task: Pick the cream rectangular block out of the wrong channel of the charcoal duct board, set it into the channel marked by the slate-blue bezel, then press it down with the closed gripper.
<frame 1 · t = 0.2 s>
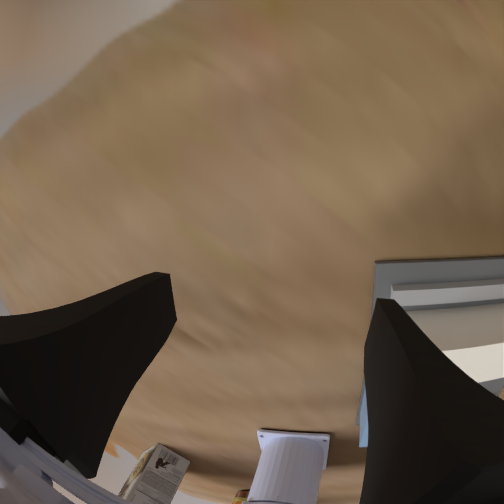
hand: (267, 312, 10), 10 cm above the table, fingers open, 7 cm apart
coffee box: (166, 455, 40), on the table
cream rectangular block: (465, 326, 18), resting on duct board
sauce bottle: (253, 494, 40), on the table
duct board: (453, 355, 20), on the table
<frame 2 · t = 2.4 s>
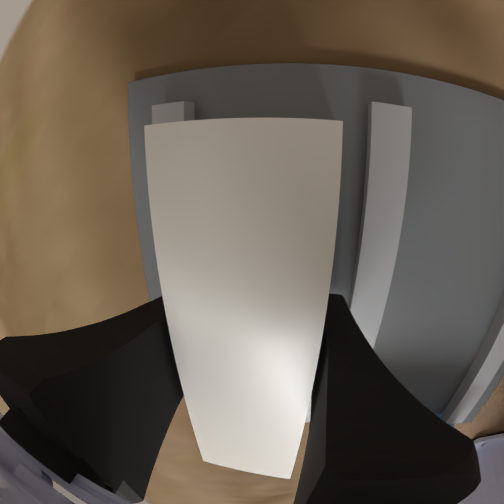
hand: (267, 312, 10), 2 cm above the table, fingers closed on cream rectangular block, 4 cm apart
cream rectangular block: (274, 292, 11), resting on duct board, touching gripper
duct board: (364, 296, 11), on the table
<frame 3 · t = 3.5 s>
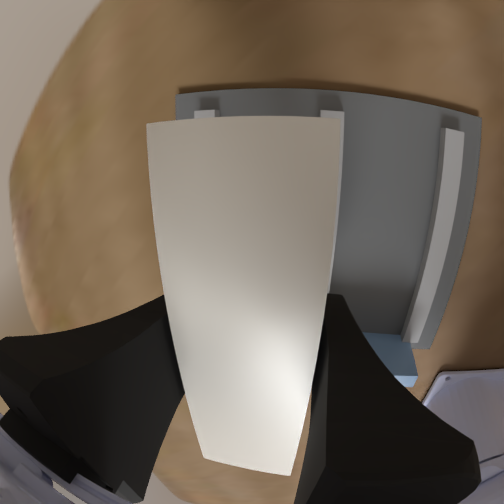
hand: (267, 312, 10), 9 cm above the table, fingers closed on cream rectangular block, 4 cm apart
cream rectangular block: (274, 289, 11), point 7 cm above the table, touching gripper
duct board: (325, 230, 17), on the table
when the fingers open (4 cm above the table, at t = 5.1 s): cream rectangular block drops 2 cm, resting on duct board.
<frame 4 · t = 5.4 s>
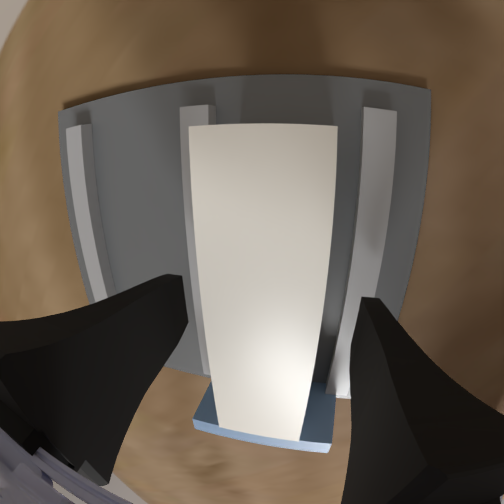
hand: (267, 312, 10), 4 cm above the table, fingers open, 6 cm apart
cream rectangular block: (282, 270, 13), resting on duct board
duct board: (211, 257, 14), on the table
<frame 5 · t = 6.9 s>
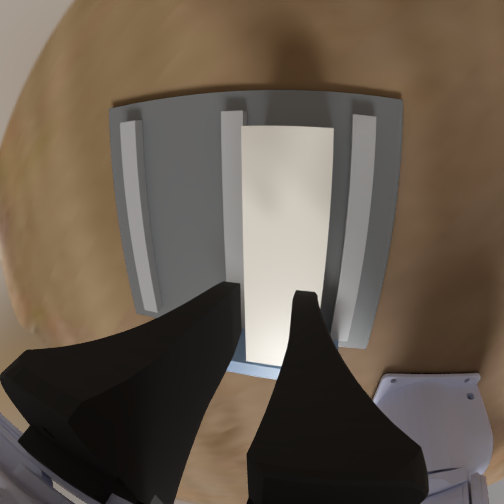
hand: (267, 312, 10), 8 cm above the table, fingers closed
cream rectangular block: (295, 233, 17), resting on duct board
duct board: (239, 225, 18), on the table
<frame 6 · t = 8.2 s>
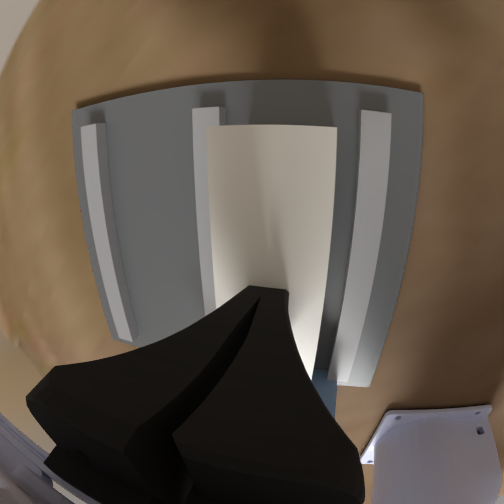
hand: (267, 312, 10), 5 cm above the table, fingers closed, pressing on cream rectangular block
cream rectangular block: (287, 260, 14), resting on duct board, touching gripper
duct board: (220, 248, 15), on the table
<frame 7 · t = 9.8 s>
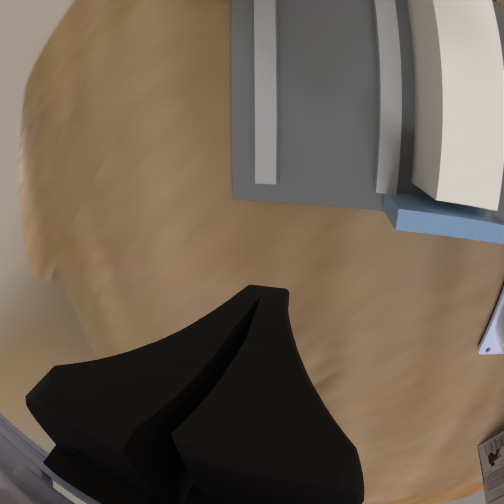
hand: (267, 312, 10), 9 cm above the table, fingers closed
coffee box: (501, 442, 22), on the table
cream rectangular block: (442, 87, 12), resting on duct board
duct board: (386, 76, 13), on the table
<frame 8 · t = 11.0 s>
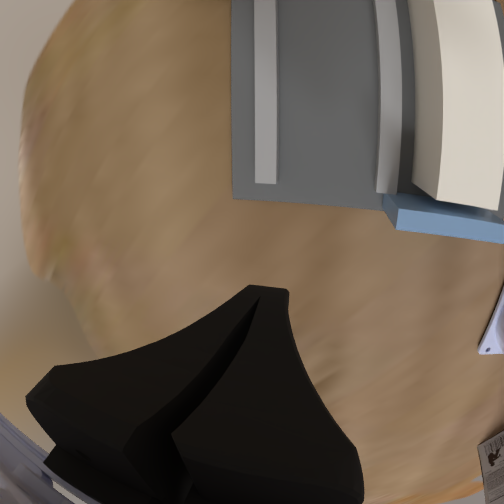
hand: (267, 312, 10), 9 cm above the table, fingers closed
coffee box: (500, 442, 22), on the table
cream rectangular block: (442, 87, 12), resting on duct board
duct board: (387, 76, 13), on the table
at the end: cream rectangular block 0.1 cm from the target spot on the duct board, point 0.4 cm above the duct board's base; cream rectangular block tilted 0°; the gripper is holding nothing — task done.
